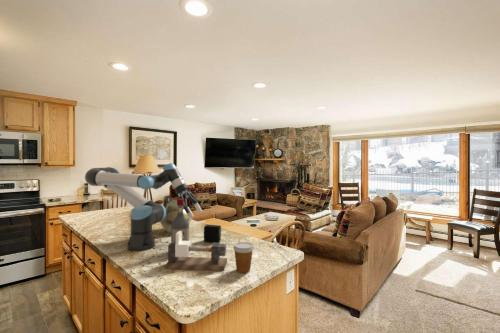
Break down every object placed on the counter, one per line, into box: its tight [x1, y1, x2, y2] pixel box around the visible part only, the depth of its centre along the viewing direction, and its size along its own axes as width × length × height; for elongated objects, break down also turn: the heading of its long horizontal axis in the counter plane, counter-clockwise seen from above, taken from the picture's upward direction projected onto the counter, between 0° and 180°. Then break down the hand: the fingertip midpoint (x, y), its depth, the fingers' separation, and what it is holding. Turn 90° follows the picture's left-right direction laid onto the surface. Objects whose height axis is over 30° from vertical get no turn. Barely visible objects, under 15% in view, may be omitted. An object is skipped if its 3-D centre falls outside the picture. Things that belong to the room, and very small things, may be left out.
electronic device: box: [203, 224, 222, 244], centre depth 158 cm, size 4×10×10 cm, turn 78°
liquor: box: [170, 198, 190, 243], centre depth 137 cm, size 9×9×30 cm
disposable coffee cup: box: [233, 241, 254, 274], centre depth 116 cm, size 10×10×12 cm
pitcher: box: [159, 196, 192, 234], centre depth 180 cm, size 22×24×25 cm
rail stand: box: [165, 241, 228, 272], centre depth 121 cm, size 28×10×10 cm, turn 87°
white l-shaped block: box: [175, 231, 192, 257], centre depth 121 cm, size 6×6×11 cm
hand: (196, 214), depth 155 cm, fingers open, 13 cm apart
